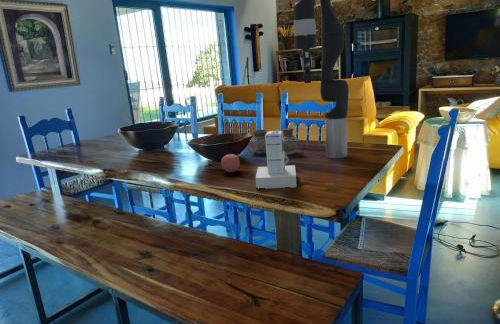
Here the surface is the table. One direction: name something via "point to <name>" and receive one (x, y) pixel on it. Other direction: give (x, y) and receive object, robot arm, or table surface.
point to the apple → (230, 162)
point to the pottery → (288, 141)
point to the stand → (276, 178)
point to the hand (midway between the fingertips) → (307, 82)
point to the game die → (286, 158)
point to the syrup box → (275, 152)
